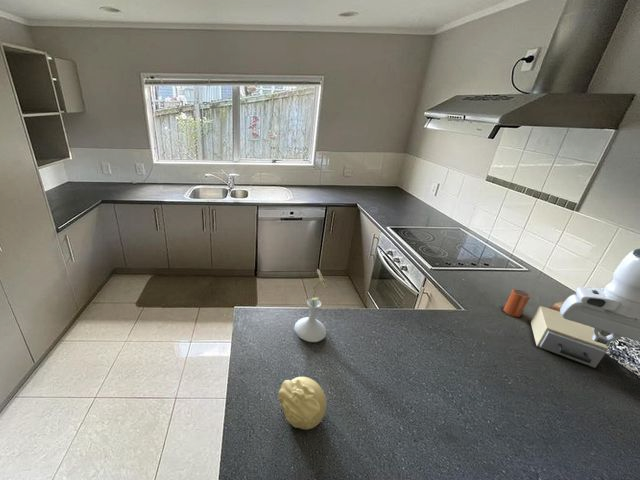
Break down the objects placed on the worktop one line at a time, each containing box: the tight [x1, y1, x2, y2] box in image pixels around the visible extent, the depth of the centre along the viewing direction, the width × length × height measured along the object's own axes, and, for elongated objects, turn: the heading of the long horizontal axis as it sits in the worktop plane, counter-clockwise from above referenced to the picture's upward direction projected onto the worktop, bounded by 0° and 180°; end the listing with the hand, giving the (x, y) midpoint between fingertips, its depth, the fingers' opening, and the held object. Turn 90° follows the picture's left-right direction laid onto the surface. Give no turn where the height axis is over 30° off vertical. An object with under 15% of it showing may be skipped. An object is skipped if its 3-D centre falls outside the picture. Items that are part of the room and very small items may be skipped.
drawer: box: [539, 331, 606, 368], centre depth 98 cm, size 19×13×7 cm
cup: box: [503, 288, 531, 318], centre depth 116 cm, size 6×6×10 cm
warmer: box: [530, 305, 609, 369], centre depth 101 cm, size 16×15×9 cm
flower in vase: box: [294, 269, 329, 343], centre depth 99 cm, size 13×11×25 cm
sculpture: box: [277, 376, 327, 430], centre depth 73 cm, size 12×12×11 cm
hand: (599, 341), depth 82 cm, fingers closed
